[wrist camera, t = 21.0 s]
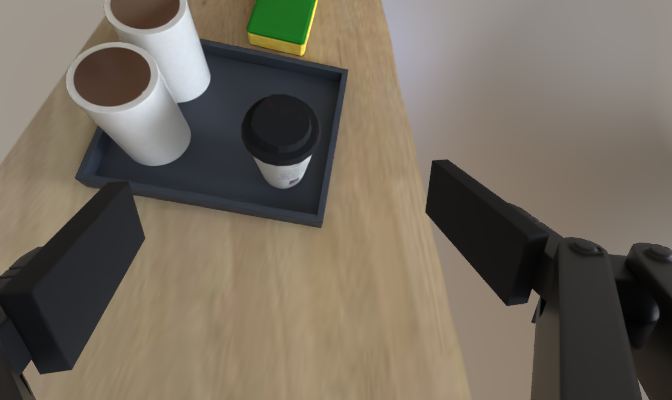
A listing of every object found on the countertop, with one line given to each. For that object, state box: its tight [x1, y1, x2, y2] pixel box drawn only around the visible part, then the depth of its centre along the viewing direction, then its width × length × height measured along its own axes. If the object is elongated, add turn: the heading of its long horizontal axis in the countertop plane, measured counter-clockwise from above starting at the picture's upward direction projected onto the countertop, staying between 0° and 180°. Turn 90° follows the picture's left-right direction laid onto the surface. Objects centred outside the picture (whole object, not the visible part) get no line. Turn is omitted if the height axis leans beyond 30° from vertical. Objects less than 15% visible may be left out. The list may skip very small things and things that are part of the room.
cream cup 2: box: [103, 0, 211, 103], centre depth 36 cm, size 7×7×10 cm
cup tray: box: [75, 38, 348, 228], centre depth 39 cm, size 24×19×2 cm
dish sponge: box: [247, 0, 318, 56], centre depth 45 cm, size 7×14×2 cm, turn 170°
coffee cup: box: [241, 94, 321, 189], centre depth 33 cm, size 7×7×10 cm
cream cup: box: [66, 42, 191, 166], centre depth 33 cm, size 7×7×10 cm
